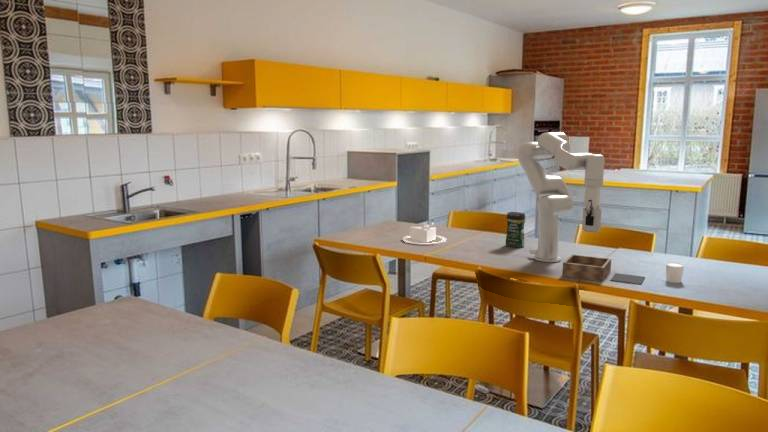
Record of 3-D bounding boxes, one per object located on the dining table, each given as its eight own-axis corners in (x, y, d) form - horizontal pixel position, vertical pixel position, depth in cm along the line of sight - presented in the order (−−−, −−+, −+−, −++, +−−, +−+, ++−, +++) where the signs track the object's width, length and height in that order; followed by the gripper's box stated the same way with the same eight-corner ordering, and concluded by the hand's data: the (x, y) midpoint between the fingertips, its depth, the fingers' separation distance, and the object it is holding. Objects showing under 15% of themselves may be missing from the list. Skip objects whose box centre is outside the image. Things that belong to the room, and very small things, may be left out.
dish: (453, 239, 326) (454, 220, 324) (433, 248, 305) (433, 227, 304) (416, 234, 339) (416, 216, 337) (394, 242, 319) (394, 223, 317)
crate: (562, 275, 250) (562, 262, 249) (571, 267, 264) (572, 254, 263) (603, 281, 241) (603, 267, 240) (610, 271, 255) (611, 258, 254)
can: (601, 233, 244) (603, 205, 242) (583, 232, 246) (584, 205, 244) (598, 229, 251) (600, 202, 249) (581, 229, 253) (582, 202, 251)
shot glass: (661, 278, 244) (662, 262, 243) (676, 278, 244) (678, 262, 243) (670, 283, 237) (671, 267, 236) (686, 282, 238) (687, 266, 237)
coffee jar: (503, 246, 306) (504, 212, 303) (509, 243, 313) (510, 210, 309) (520, 248, 300) (521, 214, 297) (526, 246, 307) (527, 211, 303)
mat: (610, 280, 242) (610, 279, 242) (615, 273, 252) (615, 273, 252) (641, 284, 236) (641, 283, 235) (645, 277, 246) (645, 276, 246)
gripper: (589, 180, 254) (587, 219, 257) (579, 185, 240) (577, 226, 243) (606, 181, 250) (604, 221, 253) (598, 186, 236) (596, 227, 239)
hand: (591, 223), depth 248 cm, fingers closed on can, 7 cm apart
